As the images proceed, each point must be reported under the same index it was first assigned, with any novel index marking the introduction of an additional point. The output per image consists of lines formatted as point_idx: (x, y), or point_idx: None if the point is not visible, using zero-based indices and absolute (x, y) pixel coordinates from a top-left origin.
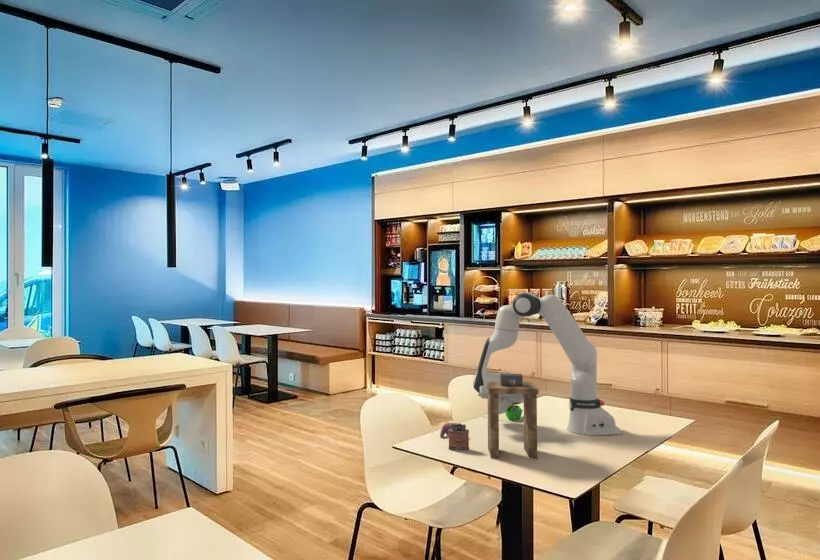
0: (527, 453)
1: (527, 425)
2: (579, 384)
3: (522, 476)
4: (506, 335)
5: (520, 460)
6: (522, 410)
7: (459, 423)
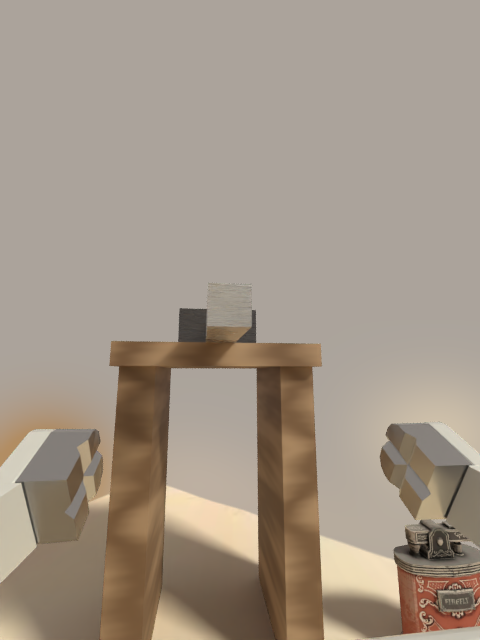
0: (157, 601)
1: (162, 484)
2: None
3: (206, 507)
4: None
5: (193, 571)
6: None
7: (432, 522)
